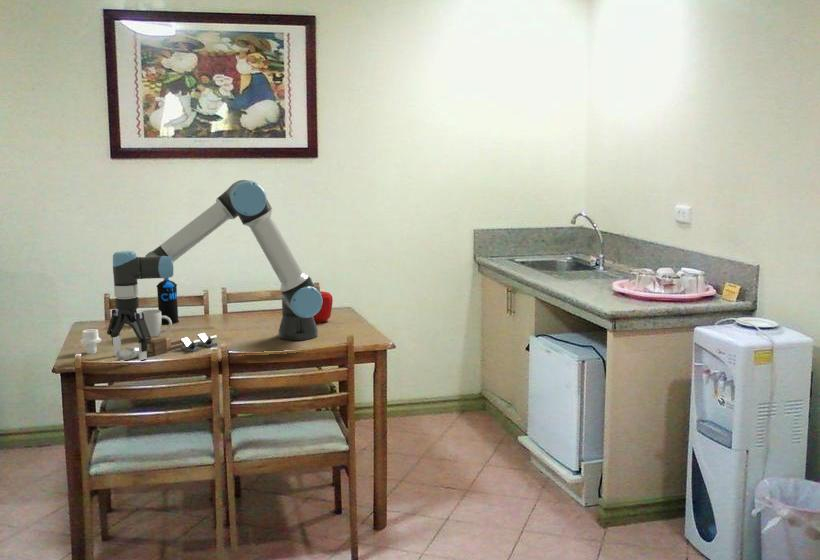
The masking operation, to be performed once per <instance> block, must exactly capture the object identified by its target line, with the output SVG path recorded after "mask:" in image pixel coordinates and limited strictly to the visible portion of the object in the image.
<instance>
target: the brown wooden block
mask: <svg viewBox="0 0 820 560" xmlns="http://www.w3.org/2000/svg"><path fill="white" fill-rule="evenodd" d="M165 338H166V343H167V348H169V347H172V346H171V342H172V339H171V338H168V337H165ZM147 347H148V349H149V353H150V352H153V342H147Z"/></svg>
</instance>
